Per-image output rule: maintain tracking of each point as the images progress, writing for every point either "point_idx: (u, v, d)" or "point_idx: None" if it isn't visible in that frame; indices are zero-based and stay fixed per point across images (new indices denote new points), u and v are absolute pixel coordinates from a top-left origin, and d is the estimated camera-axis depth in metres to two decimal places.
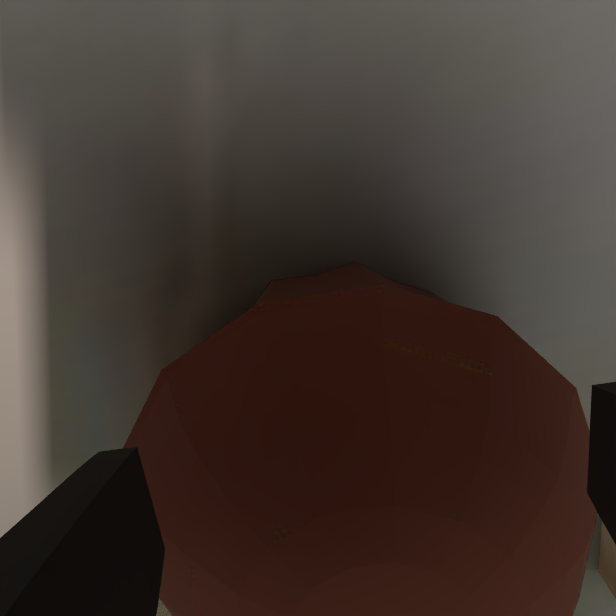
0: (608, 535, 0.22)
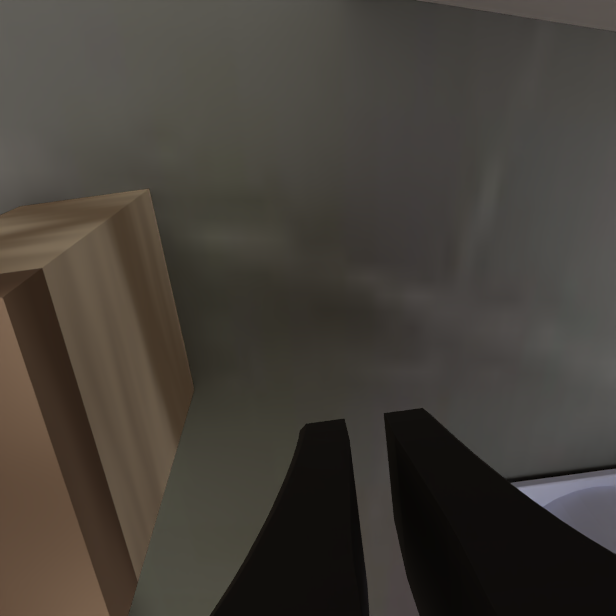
0: None
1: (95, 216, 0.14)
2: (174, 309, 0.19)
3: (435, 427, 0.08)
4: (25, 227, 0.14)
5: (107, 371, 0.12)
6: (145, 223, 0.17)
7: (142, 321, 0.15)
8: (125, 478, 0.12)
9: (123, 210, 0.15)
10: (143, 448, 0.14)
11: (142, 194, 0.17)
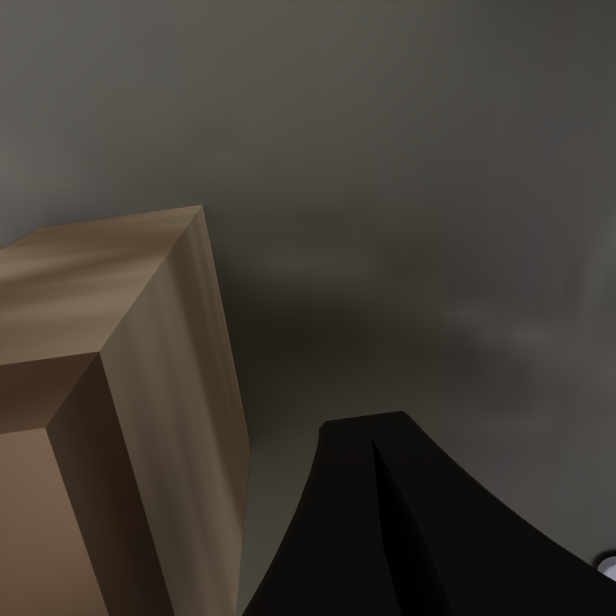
0: None
1: (148, 247, 0.10)
2: (230, 353, 0.15)
3: (413, 431, 0.08)
4: (54, 263, 0.10)
5: (177, 477, 0.09)
6: (201, 250, 0.13)
7: (205, 383, 0.12)
8: None
9: (182, 237, 0.11)
10: (216, 563, 0.10)
11: (197, 213, 0.13)
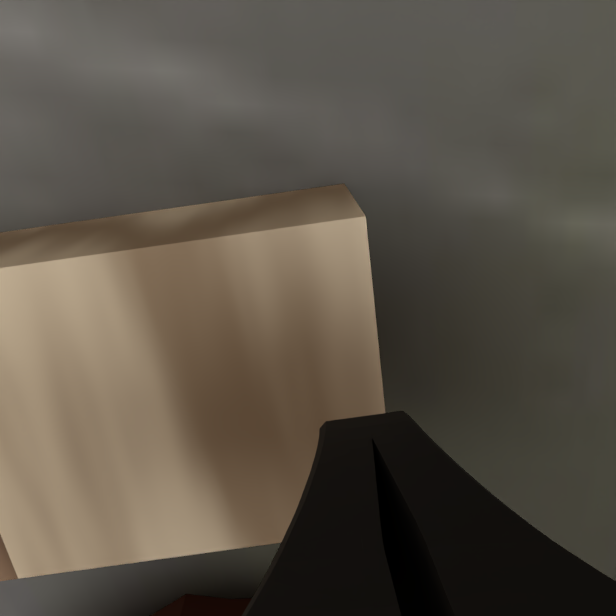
0: None
1: (155, 240, 0.11)
2: (372, 406, 0.12)
3: (413, 431, 0.08)
4: (160, 223, 0.12)
5: (26, 403, 0.11)
6: (293, 268, 0.11)
7: (185, 386, 0.12)
8: (28, 499, 0.12)
9: (191, 244, 0.10)
10: (102, 499, 0.12)
11: (315, 224, 0.10)
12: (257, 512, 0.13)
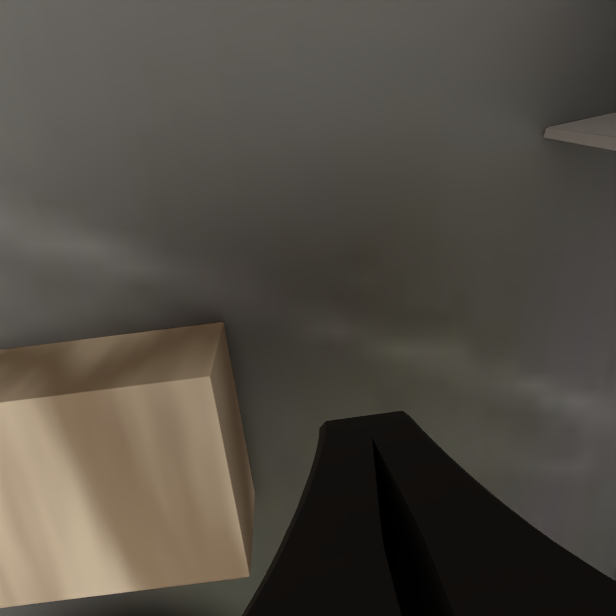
0: None
1: (71, 385, 0.16)
2: (225, 496, 0.17)
3: (413, 430, 0.08)
4: (81, 360, 0.18)
5: None
6: (163, 408, 0.16)
7: (92, 482, 0.17)
8: None
9: (93, 393, 0.16)
10: (37, 556, 0.17)
11: (176, 381, 0.16)
12: (148, 566, 0.18)
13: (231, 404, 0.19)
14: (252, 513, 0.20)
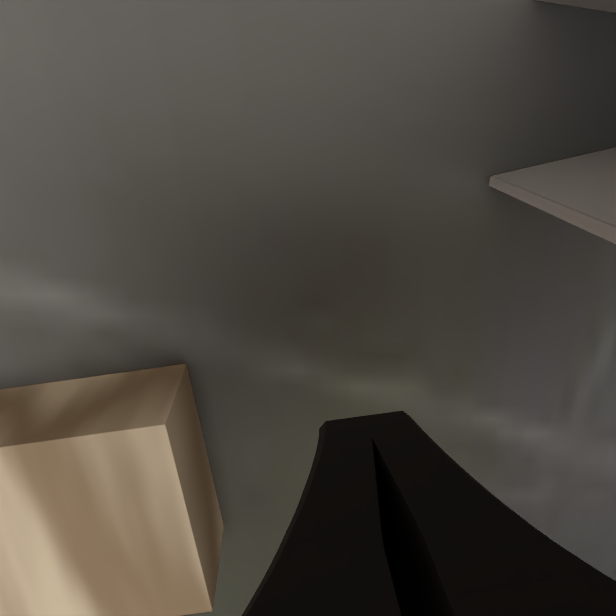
0: None
1: (34, 434, 0.17)
2: (184, 535, 0.18)
3: (413, 430, 0.08)
4: (47, 406, 0.18)
5: None
6: (121, 454, 0.17)
7: (57, 525, 0.17)
8: None
9: (53, 441, 0.16)
10: (6, 595, 0.18)
11: (133, 429, 0.16)
12: (114, 602, 0.18)
13: (194, 444, 0.19)
14: (219, 546, 0.21)
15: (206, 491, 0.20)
